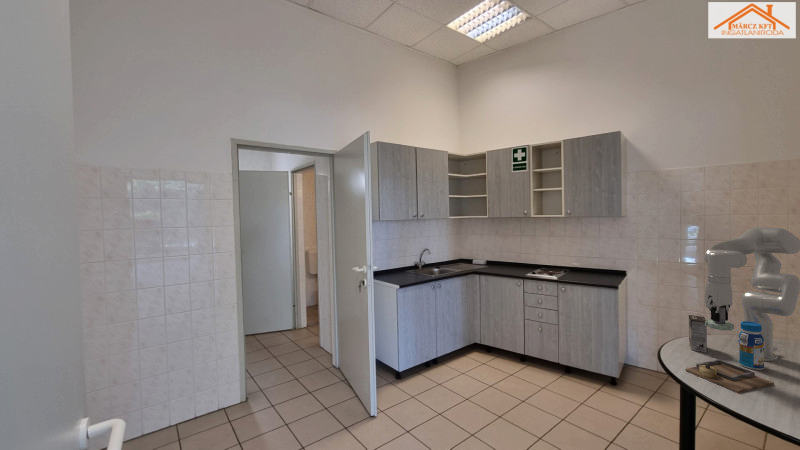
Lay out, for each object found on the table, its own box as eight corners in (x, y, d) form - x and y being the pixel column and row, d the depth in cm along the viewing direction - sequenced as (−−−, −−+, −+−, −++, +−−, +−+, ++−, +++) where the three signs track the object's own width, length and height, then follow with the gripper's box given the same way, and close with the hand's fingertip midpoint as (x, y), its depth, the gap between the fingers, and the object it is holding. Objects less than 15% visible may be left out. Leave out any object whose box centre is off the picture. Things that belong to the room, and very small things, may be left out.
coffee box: (688, 344, 183) (688, 314, 182) (704, 346, 179) (704, 316, 179) (690, 350, 176) (690, 319, 175) (707, 352, 172) (706, 321, 171)
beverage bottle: (736, 360, 162) (736, 319, 161) (761, 364, 157) (761, 322, 157) (740, 367, 155) (740, 324, 155) (767, 372, 150) (767, 327, 150)
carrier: (718, 364, 160) (718, 351, 159) (773, 384, 140) (773, 370, 140) (685, 370, 155) (685, 358, 155) (738, 393, 136) (738, 378, 135)
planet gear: (715, 322, 158) (715, 303, 158) (739, 329, 149) (739, 309, 149) (699, 325, 156) (699, 305, 156) (723, 331, 147) (722, 311, 147)
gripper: (724, 276, 157) (724, 315, 158) (695, 279, 154) (695, 319, 154) (743, 279, 150) (743, 320, 150) (713, 283, 146) (714, 325, 147)
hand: (719, 319), depth 152 cm, fingers closed on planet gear, 4 cm apart
